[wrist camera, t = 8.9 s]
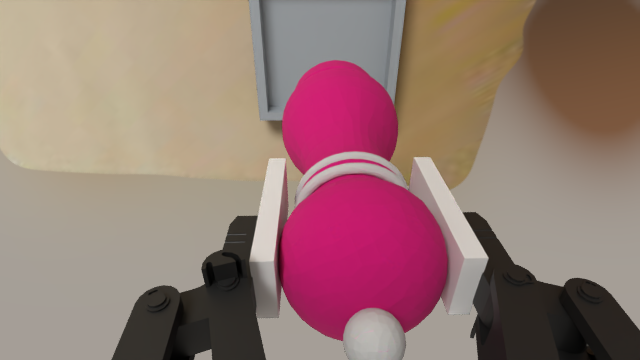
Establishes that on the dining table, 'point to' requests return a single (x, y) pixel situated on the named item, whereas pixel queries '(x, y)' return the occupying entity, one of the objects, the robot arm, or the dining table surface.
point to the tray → (321, 43)
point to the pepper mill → (355, 218)
